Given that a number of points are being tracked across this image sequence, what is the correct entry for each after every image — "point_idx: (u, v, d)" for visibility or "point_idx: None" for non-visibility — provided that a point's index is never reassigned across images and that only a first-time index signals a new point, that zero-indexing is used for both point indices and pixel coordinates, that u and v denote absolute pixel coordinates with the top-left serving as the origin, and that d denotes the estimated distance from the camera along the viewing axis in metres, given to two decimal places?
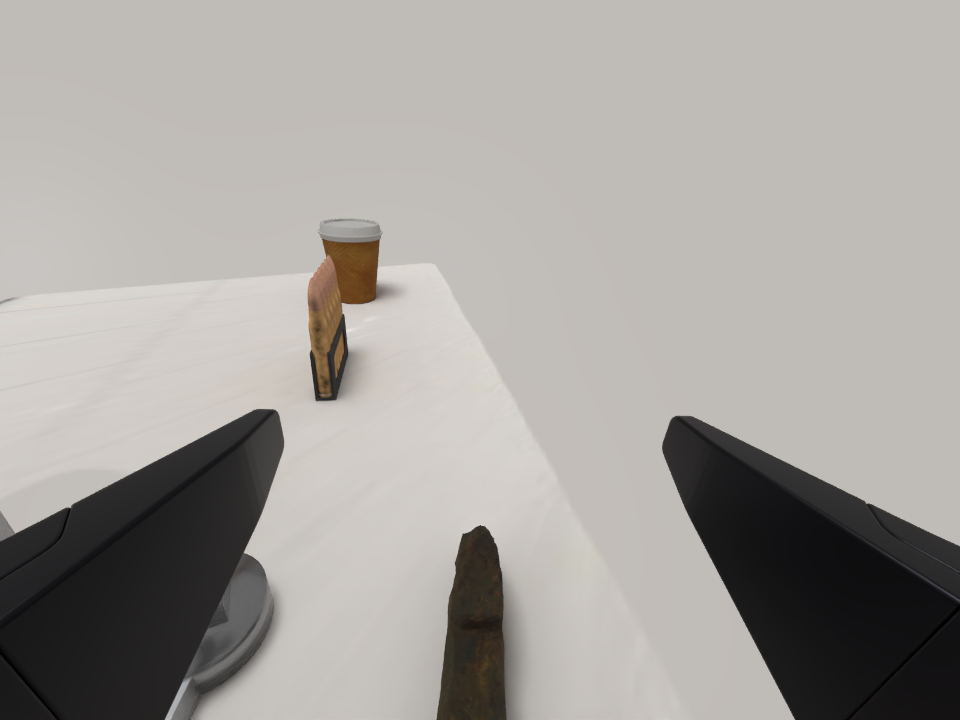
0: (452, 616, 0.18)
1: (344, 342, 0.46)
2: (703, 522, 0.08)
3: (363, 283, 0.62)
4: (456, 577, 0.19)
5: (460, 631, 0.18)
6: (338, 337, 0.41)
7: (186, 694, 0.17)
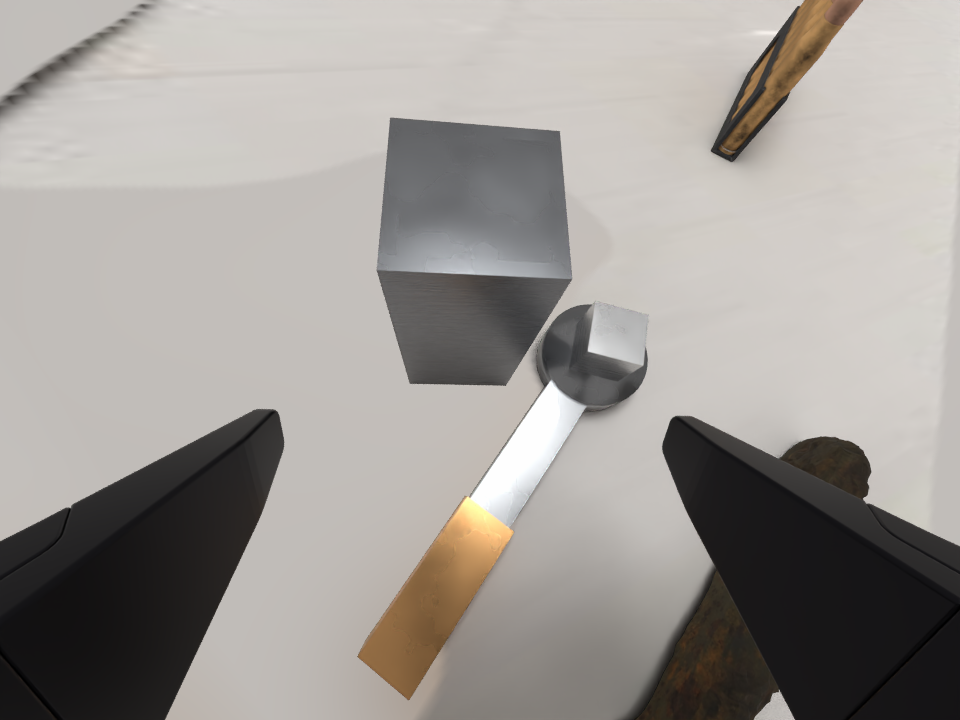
0: None
1: None
2: (703, 522, 0.08)
3: None
4: None
5: None
6: None
7: None
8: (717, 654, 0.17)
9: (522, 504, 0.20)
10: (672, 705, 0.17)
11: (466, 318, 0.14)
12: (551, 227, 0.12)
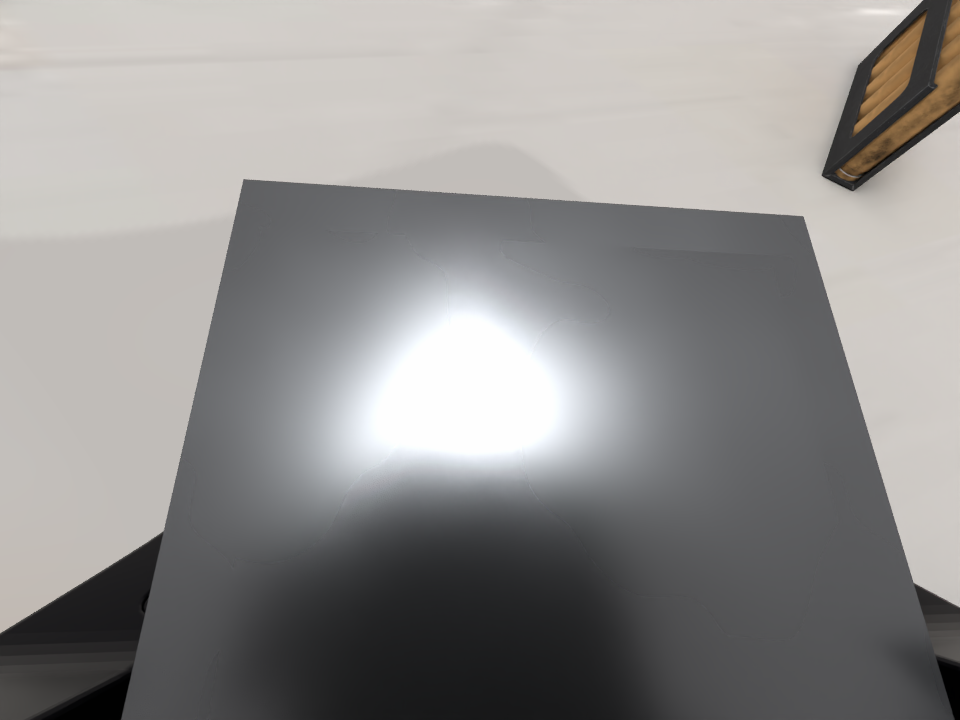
0: None
1: None
2: None
3: None
4: None
5: None
6: None
7: None
8: None
9: None
10: None
11: None
12: (866, 644, 0.03)
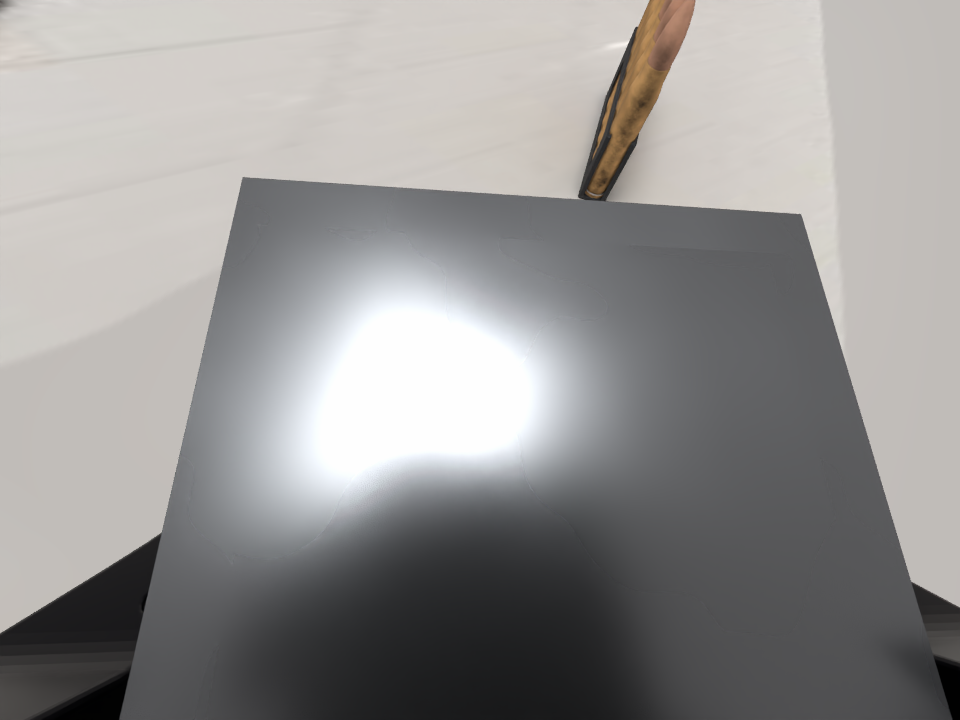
0: None
1: None
2: None
3: None
4: None
5: None
6: None
7: None
8: None
9: None
10: None
11: None
12: (864, 641, 0.03)
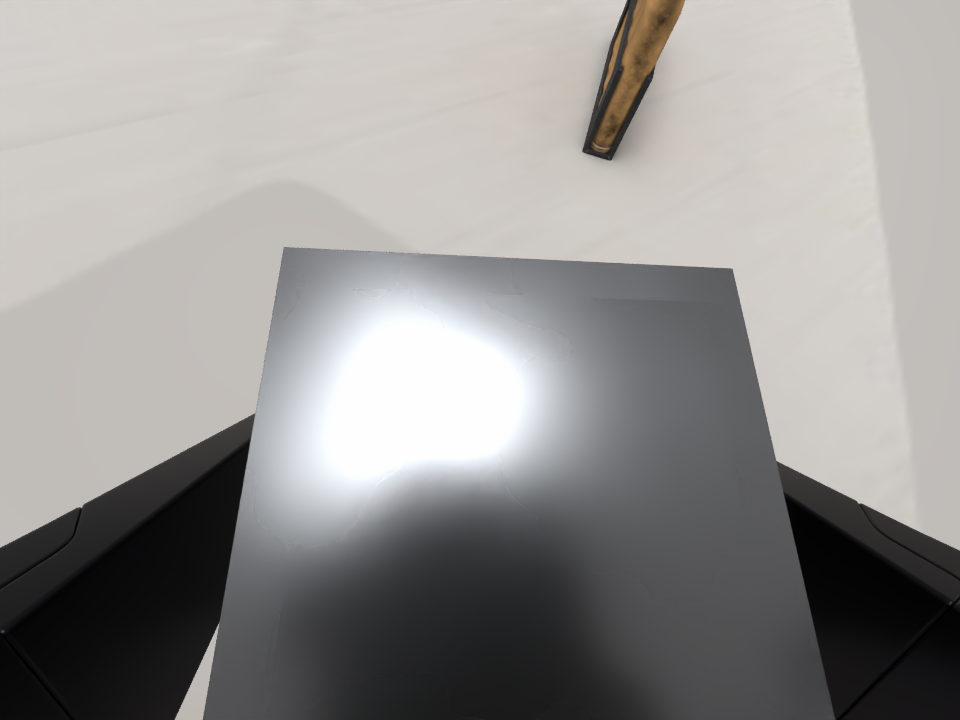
0: None
1: None
2: None
3: None
4: None
5: None
6: None
7: None
8: None
9: None
10: None
11: None
12: (760, 607, 0.04)
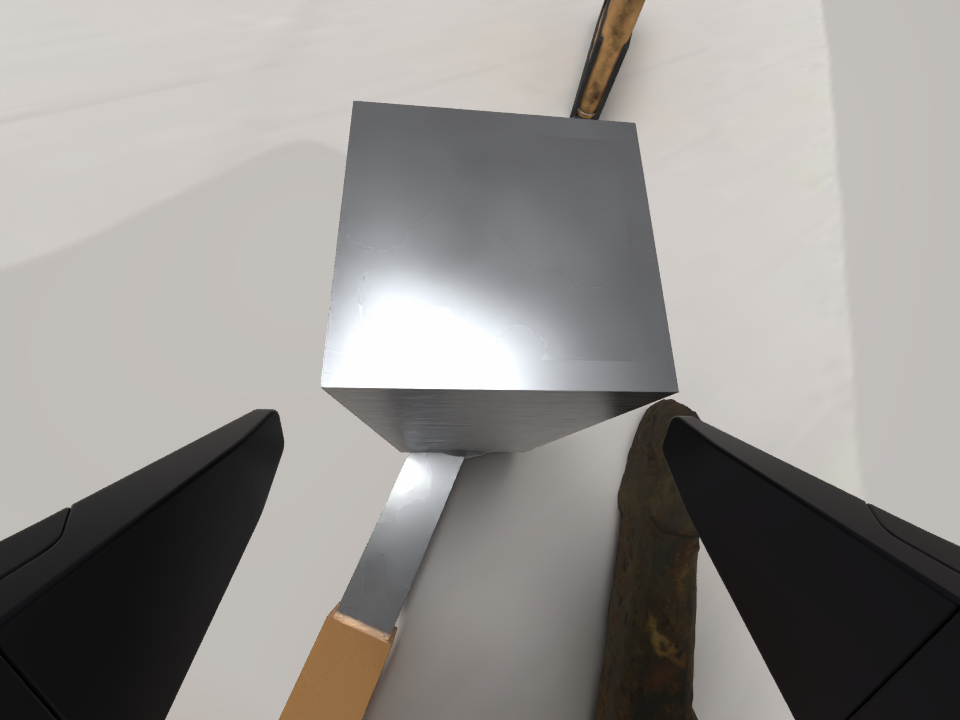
0: (656, 519, 0.16)
1: None
2: (703, 522, 0.08)
3: None
4: (665, 481, 0.16)
5: (660, 534, 0.16)
6: None
7: None
8: None
9: (401, 603, 0.16)
10: None
11: (481, 420, 0.09)
12: (634, 292, 0.07)
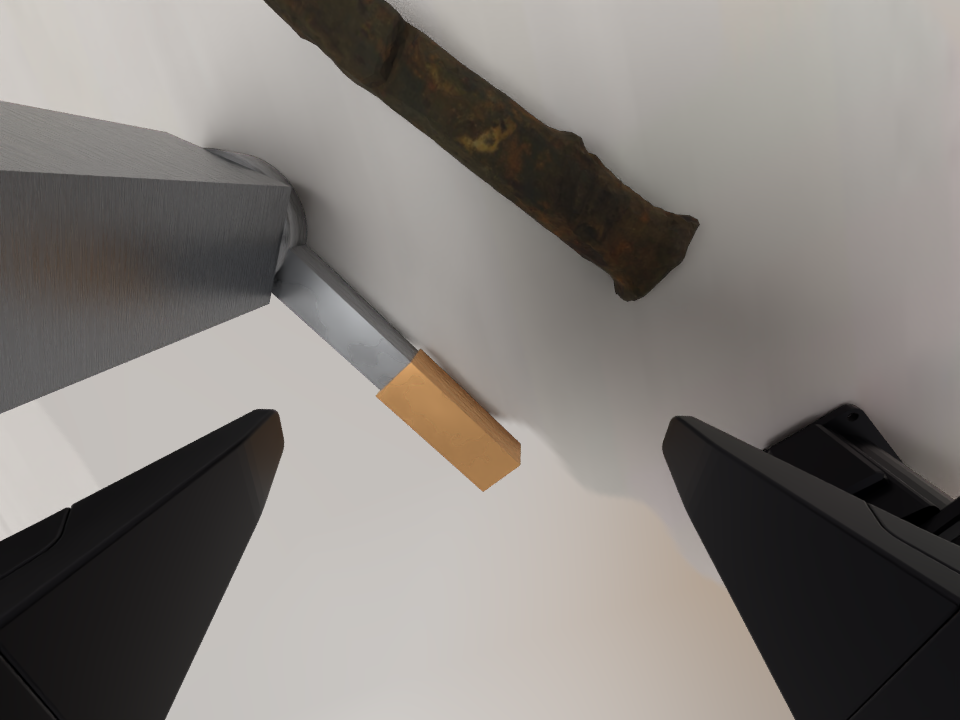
0: (369, 83, 0.14)
1: None
2: (703, 522, 0.08)
3: None
4: (324, 49, 0.13)
5: (389, 83, 0.14)
6: None
7: (300, 255, 0.19)
8: (542, 216, 0.16)
9: (389, 345, 0.20)
10: (592, 261, 0.17)
11: (55, 297, 0.09)
12: None
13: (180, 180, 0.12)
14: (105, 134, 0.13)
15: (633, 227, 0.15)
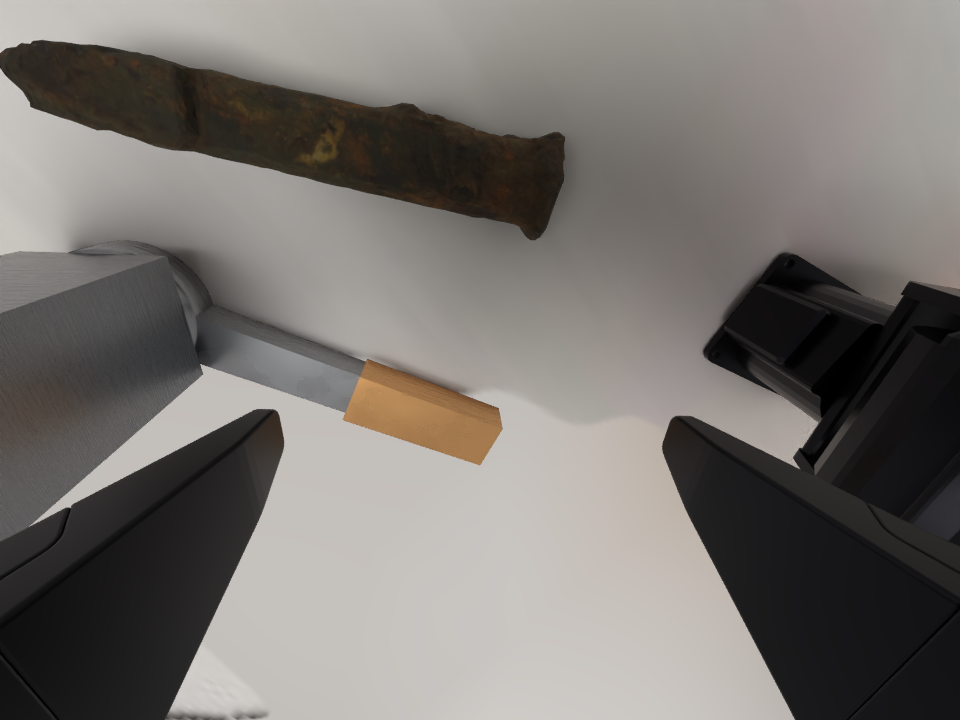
0: (183, 145, 0.13)
1: None
2: (703, 522, 0.08)
3: None
4: (122, 132, 0.13)
5: (203, 136, 0.13)
6: None
7: (210, 319, 0.18)
8: (414, 196, 0.15)
9: (333, 368, 0.20)
10: (484, 217, 0.16)
11: None
12: None
13: (30, 302, 0.11)
14: None
15: (502, 169, 0.15)
